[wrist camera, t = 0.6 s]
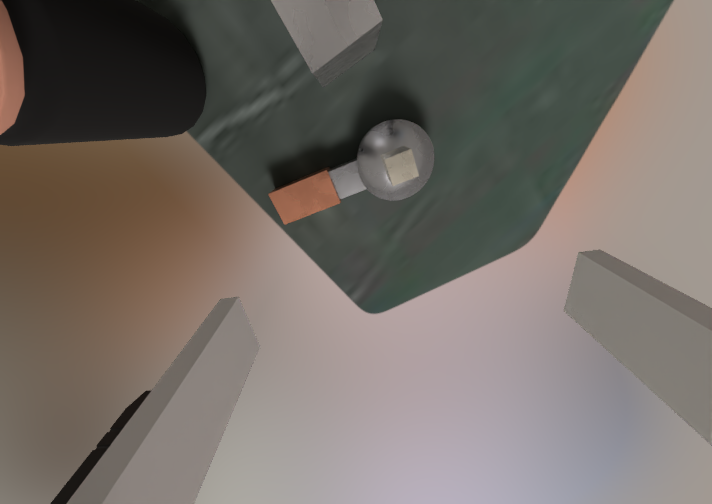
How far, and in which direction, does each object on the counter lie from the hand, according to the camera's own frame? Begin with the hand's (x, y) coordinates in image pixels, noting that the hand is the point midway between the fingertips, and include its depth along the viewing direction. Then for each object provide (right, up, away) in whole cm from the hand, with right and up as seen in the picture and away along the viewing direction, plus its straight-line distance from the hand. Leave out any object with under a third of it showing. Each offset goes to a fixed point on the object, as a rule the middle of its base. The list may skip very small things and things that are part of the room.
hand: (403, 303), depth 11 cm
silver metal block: (-4, +23, +14) cm, 27 cm away
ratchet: (-2, +11, +20) cm, 23 cm away
